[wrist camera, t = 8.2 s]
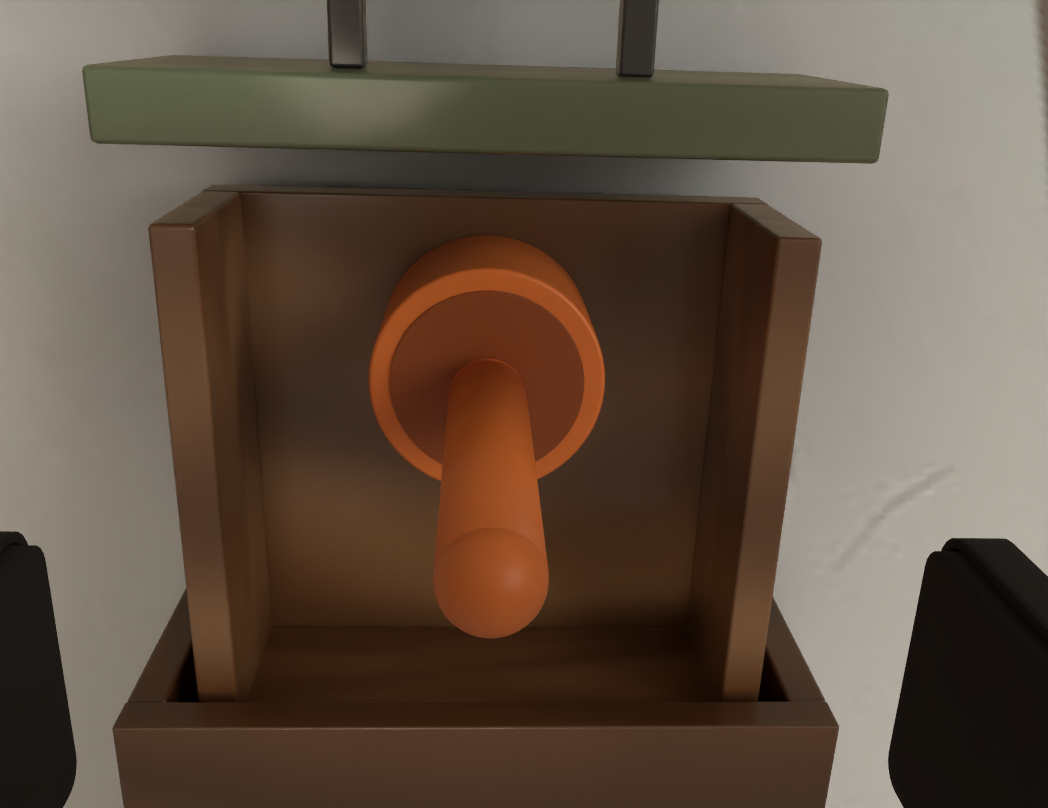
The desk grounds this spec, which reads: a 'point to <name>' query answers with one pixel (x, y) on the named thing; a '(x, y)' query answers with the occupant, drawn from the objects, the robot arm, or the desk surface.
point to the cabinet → (473, 746)
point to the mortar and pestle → (487, 412)
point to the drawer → (352, 327)
